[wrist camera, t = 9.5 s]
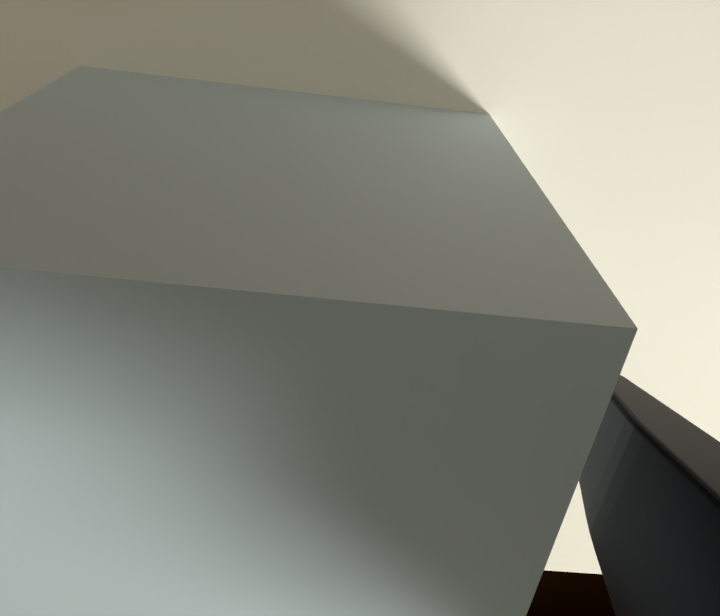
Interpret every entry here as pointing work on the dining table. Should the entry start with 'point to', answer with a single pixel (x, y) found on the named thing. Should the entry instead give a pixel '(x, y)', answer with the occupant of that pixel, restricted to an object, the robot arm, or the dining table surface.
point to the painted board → (508, 110)
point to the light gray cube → (284, 355)
